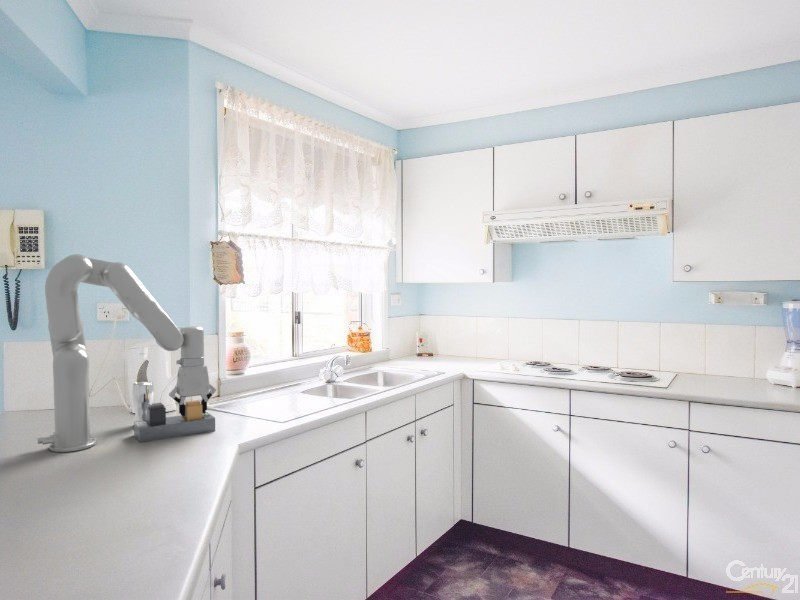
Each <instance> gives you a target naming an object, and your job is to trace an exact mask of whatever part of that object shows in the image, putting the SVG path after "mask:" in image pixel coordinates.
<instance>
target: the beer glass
mask: <svg viewBox="0 0 800 600" xmlns="http://www.w3.org/2000/svg"><path fill="white" fill-rule="evenodd" d="M154 390H155V389H154V383H153V382H152V381H139V382H134V383H132V390H131V391H132V393H131V394H132V395H131V397H132V398H131V399H132V404H133V410H134V416H135V418H134V422H136V421H143V420H147V407H148V404H154V398H155V397H154V396H155V393H154V392H155V391H154Z"/></svg>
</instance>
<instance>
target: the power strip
mask: <svg viewBox="0 0 800 600" xmlns="http://www.w3.org/2000/svg"><path fill="white" fill-rule="evenodd" d="M166 411H167V409H166V407H165V406H164V404H163V402H153V404H148V407H147V420H143V421H136V422H135V421H134V422H133V434H134V437H135V438H136V440H138V442H139V443H144V442H152V441H157V440H163V439H164V440H165V439H171V438H177V437H184V436H188V435H189V436H190V435H196V434H197V435H198V434H202V433H208V431H210V432H215V431H216V417H214V415H212V414H211V413H209V412H207V411H206V413H202V418H201V419H194V420H187V421H186V420H185V419H184V416H182V415H181V414H180V415H175V416H174V415H173V416H168V417H167V412H166ZM214 430H215V431H214Z"/></svg>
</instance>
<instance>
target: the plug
mask: <svg viewBox="0 0 800 600" xmlns="http://www.w3.org/2000/svg"><path fill="white" fill-rule="evenodd" d="M184 405H185V416H184V419H185V420H186V421H187V420H194V419H201V418H202V405H201V401H199V399H193V400H186V401H185V403H184Z"/></svg>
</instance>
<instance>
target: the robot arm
mask: <svg viewBox="0 0 800 600" xmlns="http://www.w3.org/2000/svg"><path fill="white" fill-rule="evenodd" d="M80 283H82V284H88V285H94V286H99V287H105V288H106V287H107V288H109V289H110V290H111V292H113V294H114V295H115V296H116V298H117V299H118V300H119V301H120V302H121V303H122V305H123V306H124V307H125V309H126V310H127V311H128V312H129V313H130V314H131V315H132V317H134V319H136V320H137V321H139V322H140V324H141V325H143V327H145V328H146V329H147V331H148V332H149V333H150V334H151V335H152V337H153V338H154V339H155V343H156V344H157V346H159V348H162V349H163V350H165V351H167V352H174V351H175V352H176V351H177V350H179V349H180V358H179V359H176V362H175V363H176V365H180V366H179V367H178V370H177V378H176V379H177V380H176V386H175V387H174V388H173V389H172V390H171V391H170V392H169V394H168V396H169V397H170V398H172V400H174V401H176V403H178V413H179V414H180V416H181V415H182V416H185V405H184V404H185V402H186V401H185V400H186V398H188V397H189V398H190V397H197V396H200V397H201V401H200V404H201V405H202V413H206V412H207V410H208V402H209V400H210V398H211V397H212V396H213V395H214V394H215V393H216V391H217V389H216V388H215V387H214V386H213V385H212V384H211V383H210V379H209V378H210V376H209V370H208V366H207V365H206V364H205V341H204V340H205V335H204V334H205V331H204V328H203V327H201V326H185V327H178V326H177V325H176V324H175V323H174V321H173V320H172V319H171V318H170V317H169V315H168V314H167V313H166V312H165V311H164V310H163V308H162V307H161V306H160V304H159V303H158V302H157V300H156V299H155V298H154V297H153V295H152V294H151V293H150V292H149V290H148V289H147V288H146V287H145V285H144V284H143V283H142V281H141V280H140V279H139V278H138V277H137V276H136V274H135V273H134V272H133V270H132V269H131V268H130V267H129V266H128V265H126V264H125V263H123V262H114V261H113V262H112V261H106V260H100V259H97V258H92V257H87V256H85V255H83V254H77V253H76V254H71V255H68V256H66V257H64V258H63V259H61V260H59V261H58V262H57V263H56V264H55V265H54V266H53V267H52V268H51V269H50V270H49V272H48V274H47V277H46V279H45V284H44V293H45V294H44V295H45V304H46V312H47V319H48V322H47V328H48V329H47V330H48V332H49V339H50V345H51V352H52V357H53V358H52V359H53V360H52V376H53V377H52V379H53V401H54V402H53V403H54V404H53V406H54V407H53V408H54V409H53V410H54V415H53V416H54V432H53V433H52V434H50V435H49V436H41V437H37V445H41V444H42V445H43V446H44V445H49V446H48V447H49V448H48V449H49V450H50V451H51V452H55V453H64V452H65V453H68V452H69V453H70V452H76V451H81V450H86V449H89V448H92V447H93V446H95V445H96V443H97V439H96V438H94V437H91V417H90V416H91V415H90V413H91V412H90V411H91V409H90V404H91V403H90V402H91V401H90V358H89V355H88V352H87V351H88V350H87V346H86V338H85V332H84V322H83V319H82V316H81V310H80V305H79V295H78V288H79V285H80ZM176 394H177V395H179V397H177V395H176Z"/></svg>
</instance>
